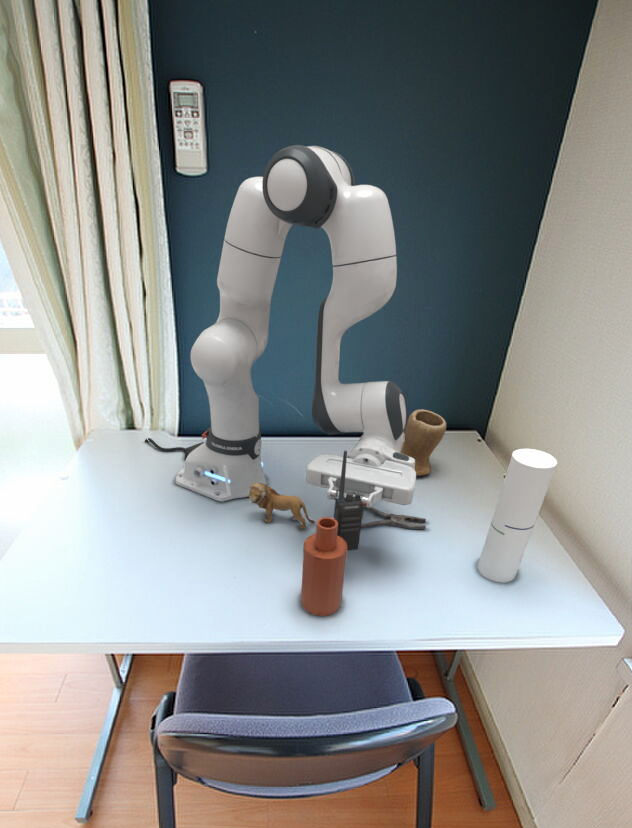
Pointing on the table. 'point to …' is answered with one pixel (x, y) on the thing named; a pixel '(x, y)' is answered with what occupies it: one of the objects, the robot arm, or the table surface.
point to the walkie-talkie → (348, 513)
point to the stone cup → (422, 438)
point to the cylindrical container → (516, 513)
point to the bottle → (323, 569)
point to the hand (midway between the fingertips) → (348, 499)
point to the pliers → (395, 520)
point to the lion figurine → (277, 502)
